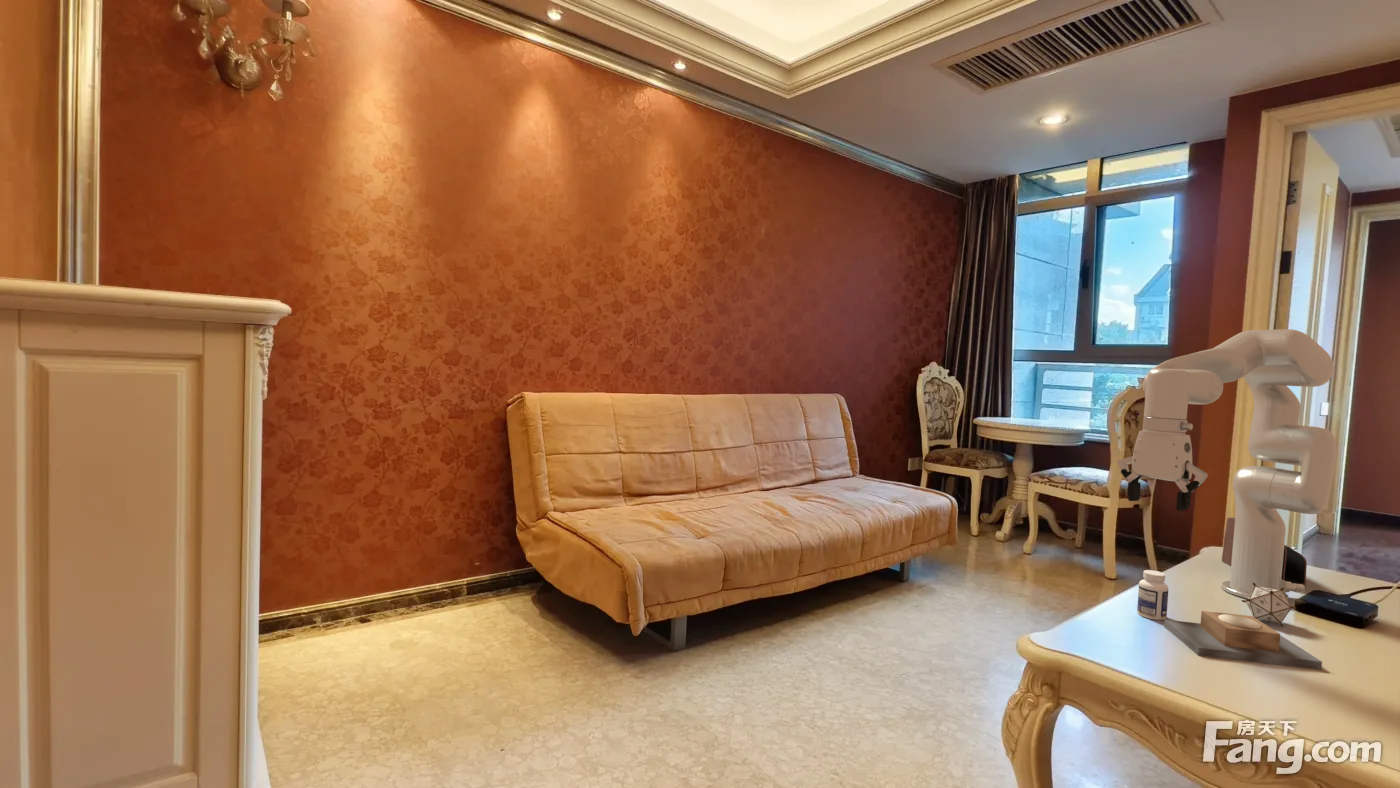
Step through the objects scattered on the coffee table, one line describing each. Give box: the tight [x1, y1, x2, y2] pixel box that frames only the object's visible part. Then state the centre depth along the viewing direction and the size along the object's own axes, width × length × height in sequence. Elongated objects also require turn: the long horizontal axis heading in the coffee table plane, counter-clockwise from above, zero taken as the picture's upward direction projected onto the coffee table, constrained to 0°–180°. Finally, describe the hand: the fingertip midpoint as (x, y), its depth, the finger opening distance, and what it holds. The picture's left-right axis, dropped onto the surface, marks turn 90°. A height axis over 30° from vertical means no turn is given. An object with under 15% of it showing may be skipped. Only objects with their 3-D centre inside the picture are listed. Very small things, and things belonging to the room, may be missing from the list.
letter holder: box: [1221, 517, 1307, 588], centre depth 178 cm, size 10×20×14 cm, turn 165°
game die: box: [1241, 582, 1297, 628], centre depth 144 cm, size 9×8×10 cm
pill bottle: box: [1136, 569, 1169, 621], centre depth 145 cm, size 5×5×10 cm
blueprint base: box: [1163, 610, 1323, 671], centre depth 130 cm, size 20×14×5 cm
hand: (1157, 505), depth 142 cm, fingers open, 9 cm apart
